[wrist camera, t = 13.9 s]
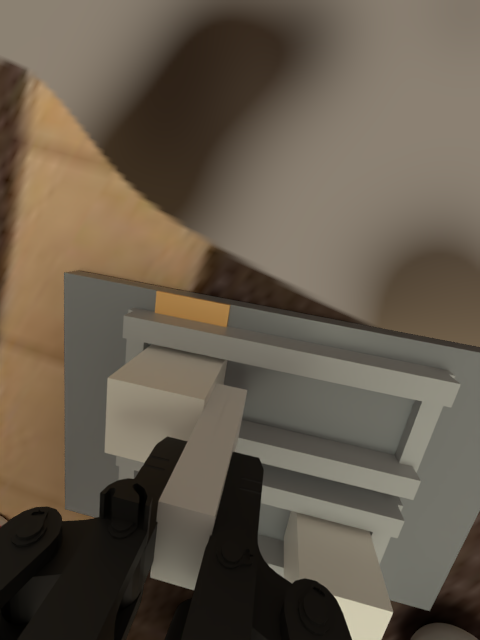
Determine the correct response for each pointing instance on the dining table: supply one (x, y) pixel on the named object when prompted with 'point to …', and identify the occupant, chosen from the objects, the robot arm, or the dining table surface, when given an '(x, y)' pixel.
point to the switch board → (298, 418)
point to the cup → (178, 621)
